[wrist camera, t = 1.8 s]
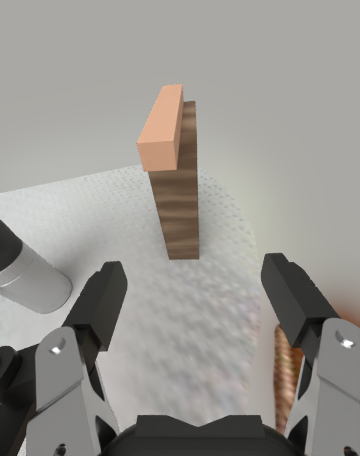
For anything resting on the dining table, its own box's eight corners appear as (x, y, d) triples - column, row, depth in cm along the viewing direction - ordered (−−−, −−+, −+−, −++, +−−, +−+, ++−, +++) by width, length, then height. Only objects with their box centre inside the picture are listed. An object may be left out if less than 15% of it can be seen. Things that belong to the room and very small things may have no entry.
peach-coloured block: (176, 169, 19) (173, 140, 17) (144, 171, 19) (136, 143, 17) (183, 103, 35) (182, 83, 33) (165, 104, 35) (163, 85, 33)
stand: (199, 259, 49) (196, 133, 25) (169, 259, 49) (139, 138, 26) (197, 217, 59) (195, 100, 35) (173, 217, 60) (154, 104, 36)
